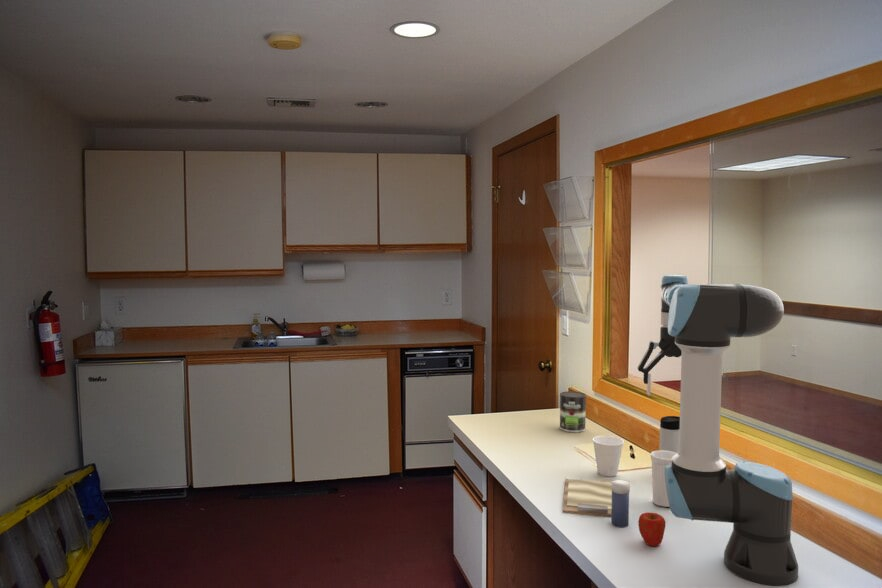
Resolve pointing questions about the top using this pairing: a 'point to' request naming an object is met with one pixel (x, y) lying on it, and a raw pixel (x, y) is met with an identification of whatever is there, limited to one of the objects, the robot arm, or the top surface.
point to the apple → (652, 528)
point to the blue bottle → (620, 503)
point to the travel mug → (669, 433)
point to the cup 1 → (607, 454)
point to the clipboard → (587, 497)
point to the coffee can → (572, 411)
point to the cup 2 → (660, 475)
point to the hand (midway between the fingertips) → (672, 395)
